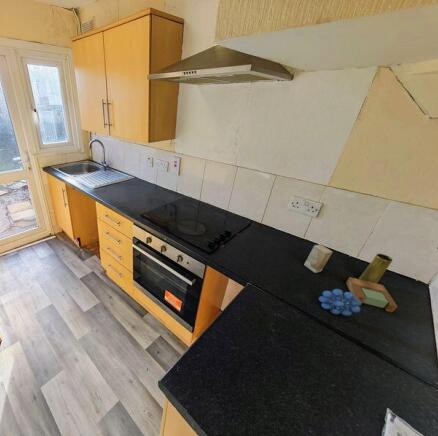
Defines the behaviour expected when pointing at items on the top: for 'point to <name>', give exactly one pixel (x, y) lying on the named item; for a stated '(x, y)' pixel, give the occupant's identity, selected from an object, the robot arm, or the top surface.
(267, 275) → the top surface
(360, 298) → the brown wooden u-shaped piece
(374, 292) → the light green block
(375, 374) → the top surface
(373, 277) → the vase
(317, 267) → the cosmetic box
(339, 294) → the grapes
